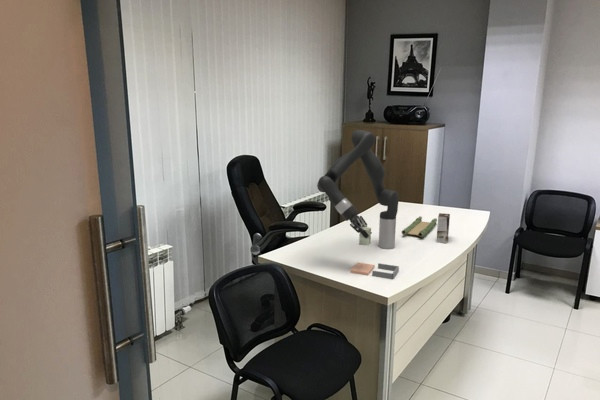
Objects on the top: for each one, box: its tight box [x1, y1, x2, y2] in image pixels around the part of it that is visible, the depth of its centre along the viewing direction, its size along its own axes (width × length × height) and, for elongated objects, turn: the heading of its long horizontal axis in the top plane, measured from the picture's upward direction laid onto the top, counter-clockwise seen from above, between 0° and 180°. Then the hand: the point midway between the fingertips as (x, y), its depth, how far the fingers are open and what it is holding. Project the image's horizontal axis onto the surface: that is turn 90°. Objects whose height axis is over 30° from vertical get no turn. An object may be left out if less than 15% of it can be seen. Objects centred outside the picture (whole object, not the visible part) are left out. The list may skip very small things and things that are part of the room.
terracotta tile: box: [349, 262, 376, 276], centre depth 226 cm, size 12×9×1 cm
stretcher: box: [401, 216, 438, 238], centre depth 293 cm, size 41×14×5 cm, turn 151°
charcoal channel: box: [371, 262, 400, 280], centre depth 221 cm, size 12×10×2 cm
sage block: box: [358, 226, 372, 247], centre depth 222 cm, size 4×4×8 cm
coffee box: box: [435, 213, 451, 244], centre depth 271 cm, size 9×6×16 cm
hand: (368, 235), depth 221 cm, fingers closed on sage block, 4 cm apart
